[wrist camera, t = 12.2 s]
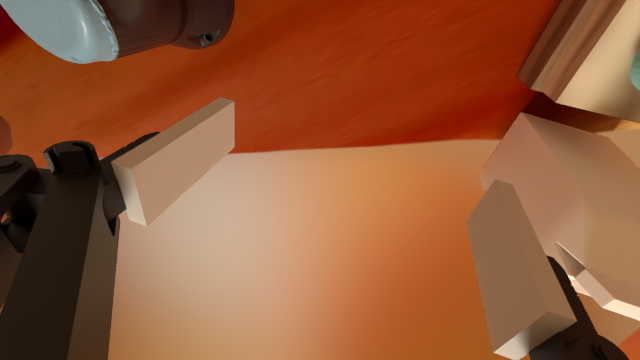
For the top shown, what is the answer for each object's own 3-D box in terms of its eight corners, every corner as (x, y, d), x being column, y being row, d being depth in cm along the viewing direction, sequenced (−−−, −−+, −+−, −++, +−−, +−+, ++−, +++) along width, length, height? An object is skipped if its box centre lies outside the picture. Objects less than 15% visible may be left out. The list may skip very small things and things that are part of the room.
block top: (538, 88, 33) (555, 102, 30) (603, -13, 27) (635, -12, 24) (630, 110, 32) (660, 128, 28) (719, 9, 26) (772, 14, 22)
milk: (608, 137, 39) (818, 307, 19) (551, 198, 46) (658, 371, 26) (520, 111, 41) (628, 245, 20) (477, 175, 48) (524, 322, 27)
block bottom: (516, 75, 38) (530, 89, 34) (574, -23, 32) (602, -24, 27) (602, 97, 37) (629, 114, 33) (681, 0, 31) (730, 4, 26)
